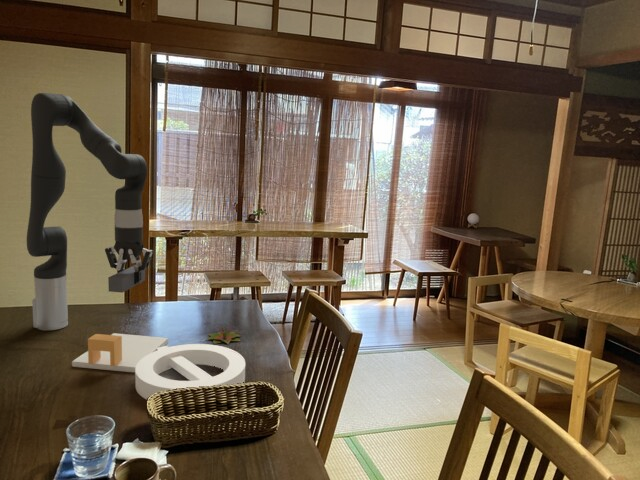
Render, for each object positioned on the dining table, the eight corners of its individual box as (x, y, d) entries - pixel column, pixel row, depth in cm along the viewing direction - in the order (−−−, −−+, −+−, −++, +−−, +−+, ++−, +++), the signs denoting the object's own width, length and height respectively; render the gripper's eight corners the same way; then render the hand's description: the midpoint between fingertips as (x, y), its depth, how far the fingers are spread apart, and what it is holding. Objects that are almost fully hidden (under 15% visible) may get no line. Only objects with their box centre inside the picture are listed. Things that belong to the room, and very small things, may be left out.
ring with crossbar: (158, 356, 144) (158, 341, 144) (252, 362, 144) (253, 347, 143) (116, 403, 117) (116, 385, 116) (233, 411, 116) (233, 392, 115)
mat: (72, 366, 134) (72, 361, 134) (113, 337, 156) (113, 333, 155) (135, 372, 132) (135, 367, 132) (168, 342, 154) (168, 338, 154)
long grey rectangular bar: (108, 291, 135) (108, 277, 134) (132, 279, 149) (132, 266, 148) (122, 292, 135) (122, 278, 134) (145, 280, 148) (145, 267, 148)
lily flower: (246, 344, 157) (247, 330, 156) (209, 348, 152) (209, 334, 152) (237, 331, 168) (238, 318, 167) (202, 334, 163) (202, 321, 162)
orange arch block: (88, 363, 132) (87, 339, 131) (96, 357, 136) (96, 333, 135) (114, 366, 132) (114, 341, 130) (122, 360, 136) (121, 336, 134)
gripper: (97, 224, 137) (99, 284, 139) (146, 228, 135) (147, 288, 138) (111, 221, 144) (112, 278, 147) (158, 224, 143) (158, 281, 146)
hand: (129, 282), depth 142 cm, fingers closed on long grey rectangular bar, 4 cm apart
